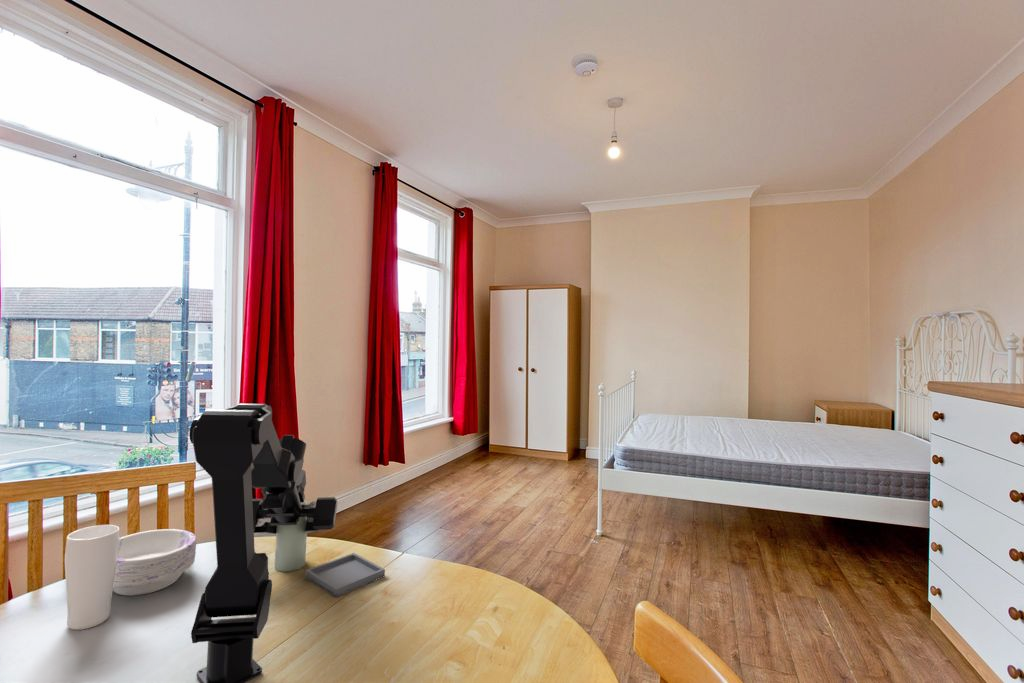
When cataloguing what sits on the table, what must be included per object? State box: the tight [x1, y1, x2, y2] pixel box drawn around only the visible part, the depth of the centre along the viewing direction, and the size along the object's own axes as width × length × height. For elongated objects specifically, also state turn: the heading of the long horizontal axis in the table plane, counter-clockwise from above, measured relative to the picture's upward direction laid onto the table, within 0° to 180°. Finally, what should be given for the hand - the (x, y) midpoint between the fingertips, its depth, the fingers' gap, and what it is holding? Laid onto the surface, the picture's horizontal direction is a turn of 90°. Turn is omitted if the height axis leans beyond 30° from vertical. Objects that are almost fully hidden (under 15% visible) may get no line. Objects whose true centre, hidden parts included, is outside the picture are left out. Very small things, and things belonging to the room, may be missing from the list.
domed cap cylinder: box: [274, 499, 309, 573], centre depth 101 cm, size 6×6×13 cm
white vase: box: [64, 524, 121, 631], centre depth 79 cm, size 7×7×15 cm
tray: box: [304, 552, 386, 598], centre depth 97 cm, size 11×11×2 cm
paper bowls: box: [112, 528, 197, 596], centre depth 91 cm, size 15×15×8 cm
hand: (293, 531), depth 103 cm, fingers closed on domed cap cylinder, 6 cm apart
